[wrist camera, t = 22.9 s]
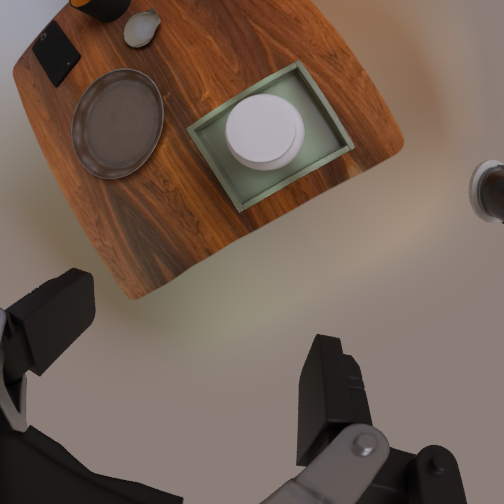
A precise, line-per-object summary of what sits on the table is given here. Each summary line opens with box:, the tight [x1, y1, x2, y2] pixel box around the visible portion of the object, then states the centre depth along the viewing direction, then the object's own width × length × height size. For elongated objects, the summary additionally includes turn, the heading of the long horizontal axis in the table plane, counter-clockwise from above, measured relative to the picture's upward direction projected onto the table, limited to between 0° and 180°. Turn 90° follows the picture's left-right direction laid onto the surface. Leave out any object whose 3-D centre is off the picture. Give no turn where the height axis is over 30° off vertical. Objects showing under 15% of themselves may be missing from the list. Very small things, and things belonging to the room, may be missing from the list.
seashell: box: [124, 8, 161, 48], centre depth 39 cm, size 8×3×8 cm
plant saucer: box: [71, 69, 164, 179], centre depth 46 cm, size 21×21×3 cm
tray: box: [186, 60, 355, 213], centre depth 36 cm, size 13×10×20 cm
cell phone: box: [32, 21, 81, 87], centre depth 42 cm, size 9×18×1 cm, turn 38°
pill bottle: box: [225, 94, 305, 171], centre depth 24 cm, size 6×6×11 cm
